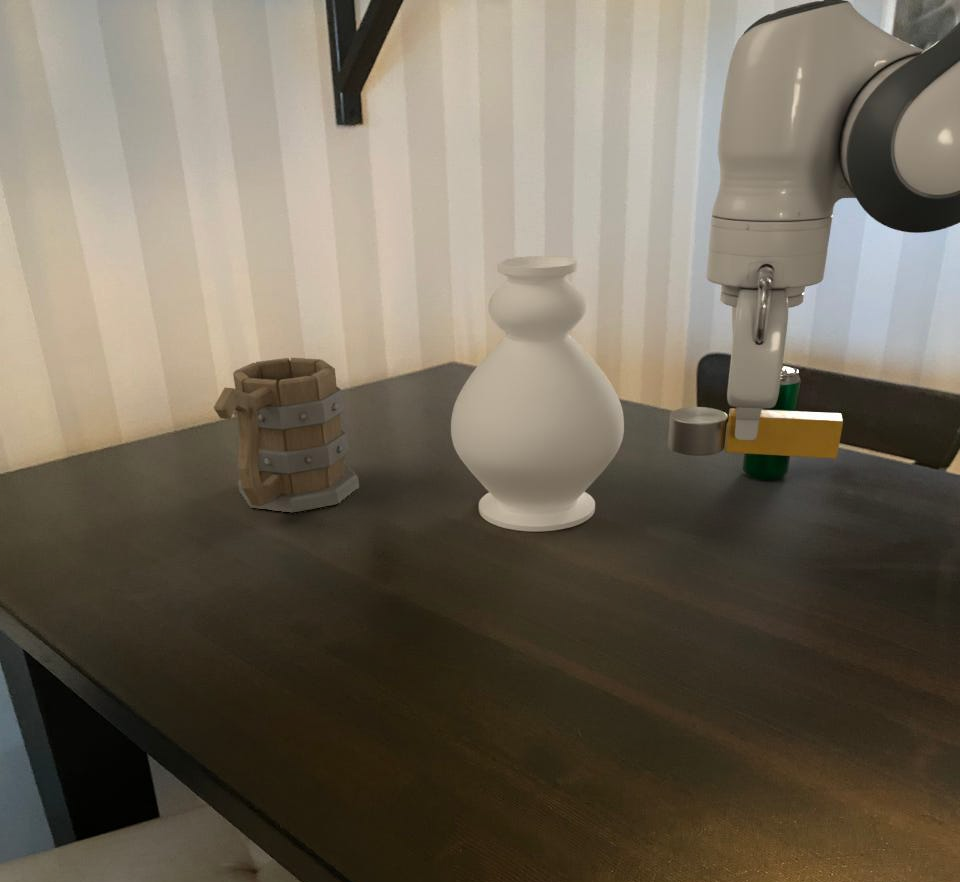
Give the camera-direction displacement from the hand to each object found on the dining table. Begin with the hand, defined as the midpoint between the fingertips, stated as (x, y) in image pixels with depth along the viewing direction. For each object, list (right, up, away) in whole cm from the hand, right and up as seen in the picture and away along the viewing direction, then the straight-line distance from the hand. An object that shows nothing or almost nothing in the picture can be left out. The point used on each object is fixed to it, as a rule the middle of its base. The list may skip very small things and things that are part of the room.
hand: (745, 431), depth 79 cm
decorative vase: (-16, -4, +22) cm, 28 cm away
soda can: (+10, +1, +29) cm, 31 cm away
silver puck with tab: (0, -1, +1) cm, 2 cm away
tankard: (-44, -3, +25) cm, 51 cm away
